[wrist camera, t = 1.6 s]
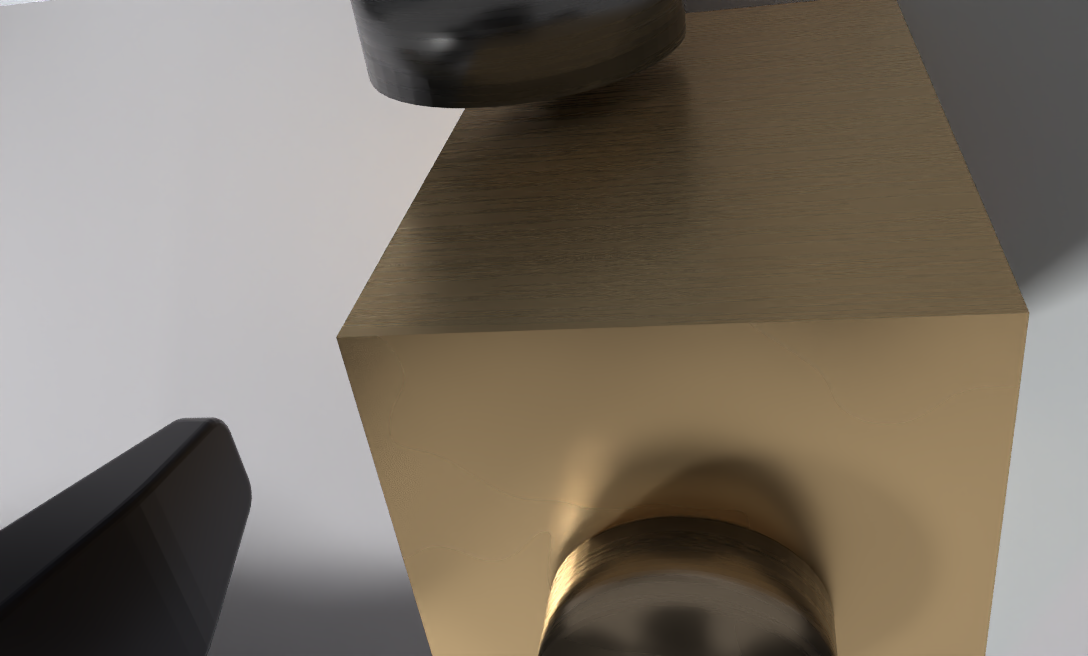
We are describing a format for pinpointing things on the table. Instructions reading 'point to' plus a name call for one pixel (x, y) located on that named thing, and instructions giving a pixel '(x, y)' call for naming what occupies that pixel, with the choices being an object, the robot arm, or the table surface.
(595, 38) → the chassis
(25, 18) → the table surface
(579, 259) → the wooden block with knob
